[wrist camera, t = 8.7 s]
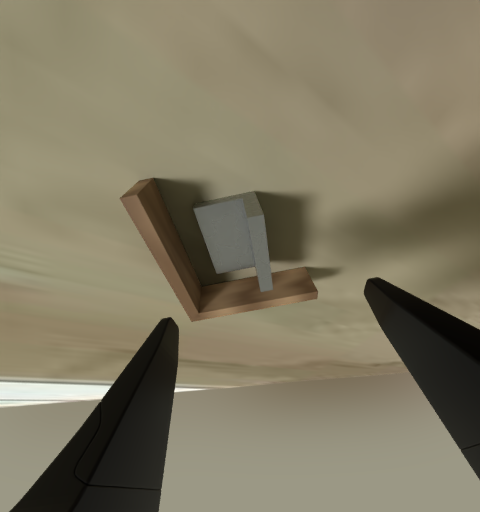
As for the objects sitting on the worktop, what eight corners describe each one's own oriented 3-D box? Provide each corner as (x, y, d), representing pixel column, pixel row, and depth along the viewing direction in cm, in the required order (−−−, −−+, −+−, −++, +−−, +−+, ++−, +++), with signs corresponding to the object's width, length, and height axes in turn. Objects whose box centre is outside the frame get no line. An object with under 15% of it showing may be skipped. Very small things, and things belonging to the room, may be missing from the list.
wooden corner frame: (308, 143, 16) (330, 152, 12) (304, 273, 25) (317, 298, 21) (139, 180, 16) (119, 198, 13) (195, 294, 25) (191, 321, 22)
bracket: (263, 257, 23) (273, 289, 19) (216, 267, 23) (216, 300, 19) (254, 190, 18) (263, 214, 14) (194, 203, 18) (187, 230, 14)
